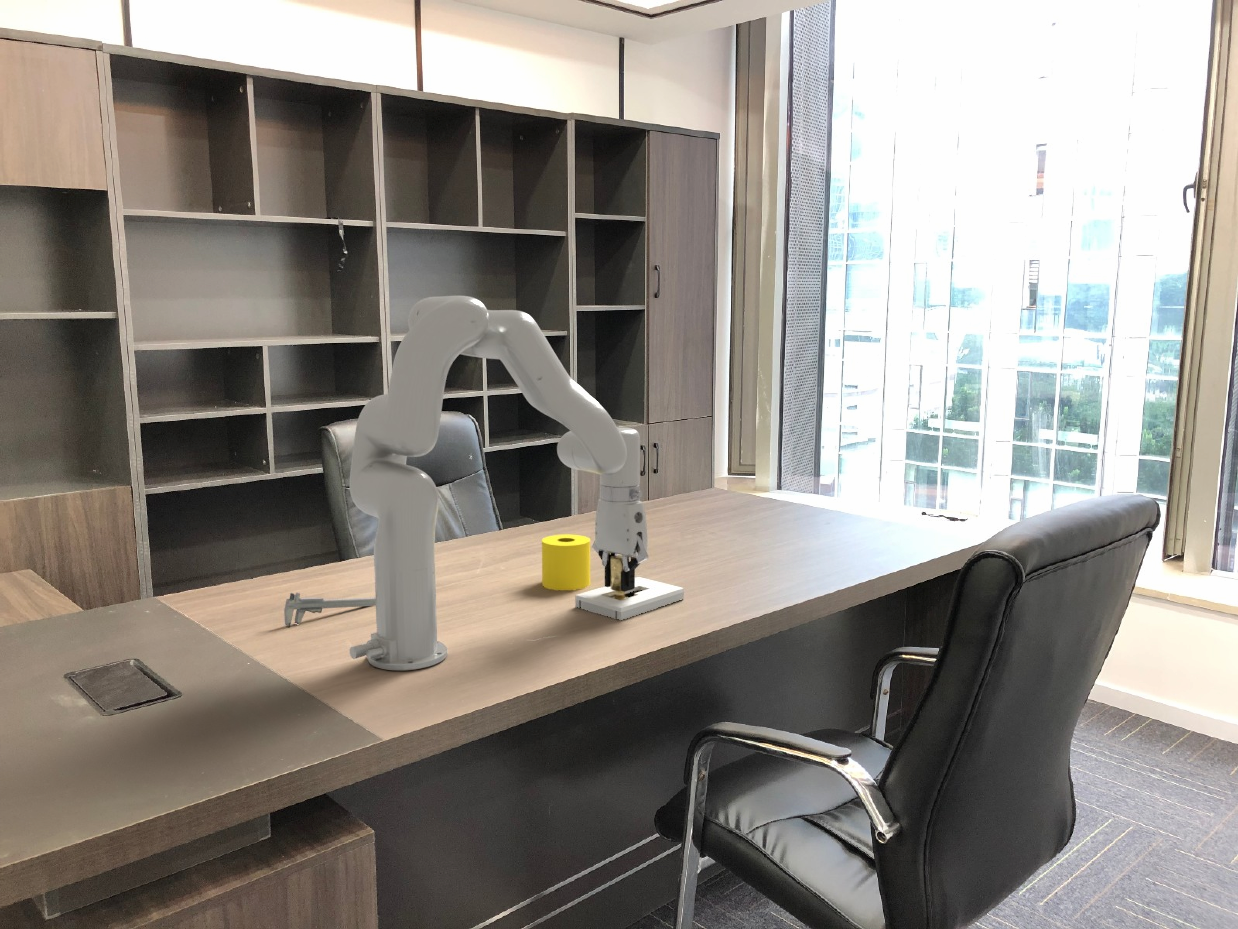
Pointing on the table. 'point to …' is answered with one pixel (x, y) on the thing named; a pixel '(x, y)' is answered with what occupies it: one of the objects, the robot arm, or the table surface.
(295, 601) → the caliper
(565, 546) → the yellow toilet paper roll
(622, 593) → the brass peg
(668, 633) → the table surface
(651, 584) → the keyhole plate
